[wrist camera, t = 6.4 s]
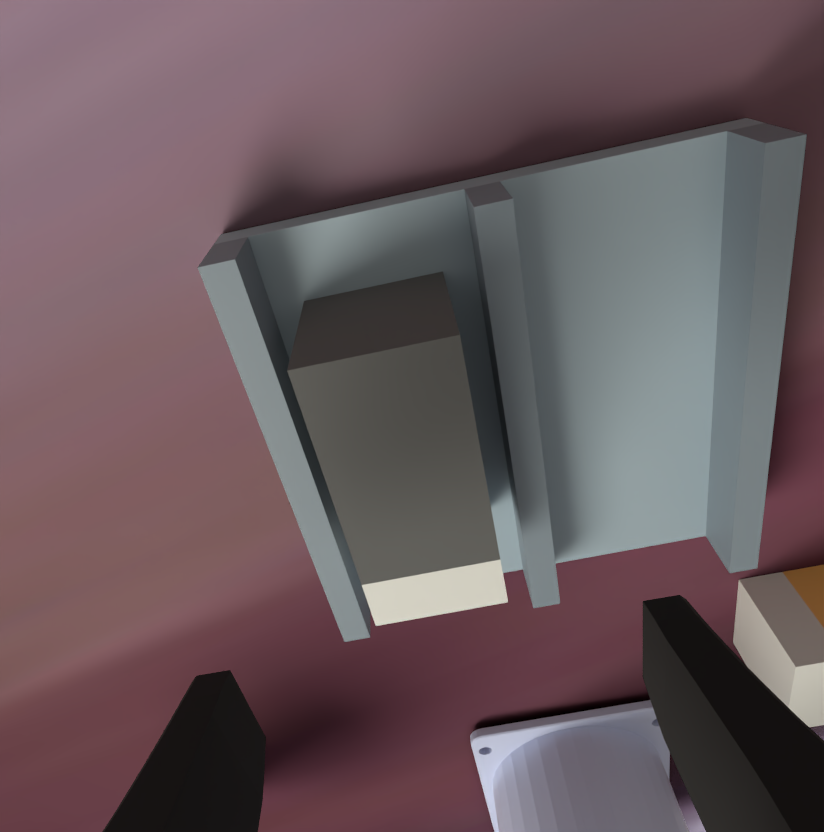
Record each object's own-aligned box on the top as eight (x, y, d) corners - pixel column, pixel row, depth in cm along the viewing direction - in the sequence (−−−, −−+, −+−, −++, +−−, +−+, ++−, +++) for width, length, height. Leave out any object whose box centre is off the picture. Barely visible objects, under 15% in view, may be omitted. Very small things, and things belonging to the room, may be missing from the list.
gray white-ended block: (303, 301, 16) (287, 370, 13) (442, 271, 15) (459, 335, 12) (375, 530, 20) (375, 625, 16) (486, 509, 19) (508, 602, 16)
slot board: (719, 514, 21) (757, 568, 19) (347, 583, 22) (344, 641, 20) (746, 117, 15) (807, 134, 13) (220, 234, 15) (197, 267, 13)
